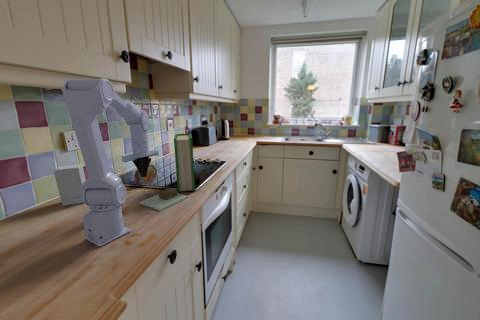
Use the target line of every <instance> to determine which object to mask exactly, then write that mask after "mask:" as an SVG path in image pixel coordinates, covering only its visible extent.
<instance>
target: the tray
mask: <svg viewBox="0 0 480 320" xmlns="http://www.w3.org/2000/svg"><path fill="white" fill-rule="evenodd" d="M188 197H189V196H188V195H185V194H181V193H178V192H177V196H174V197H172V198H170V199H168V200H163V199H160V198H159V194H156V195H154V196H151V197H149V198H146V199H144V200H142V201H139V205H141V206H144V207H148V208H151V209H154V210H156V211H159V212H161V211H163V210H166V209H168V208H169V207H172V206H174V205H176V204H178V203H180V202H182V201H184V200H187V199H188Z"/></svg>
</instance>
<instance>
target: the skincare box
mask: <svg viewBox="0 0 480 320" xmlns="http://www.w3.org/2000/svg"><path fill="white" fill-rule="evenodd" d="M53 175H54V178H55V182H56V187H57V189H58V190H57V191H58V194H59V198H60V201H61V206H62V207H65V206H70V205H77V204H78V205H79V204H85V203H84V201H83V189H82V184H83V183H84V182H85V181H86V180H87V179H86V176H85V170H84V166H83V164H82V163H79V164H74V165H73V164H72V165H70V164H69V165H63V166H62V165H61V166H57V167H56V168H54V170H53Z"/></svg>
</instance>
